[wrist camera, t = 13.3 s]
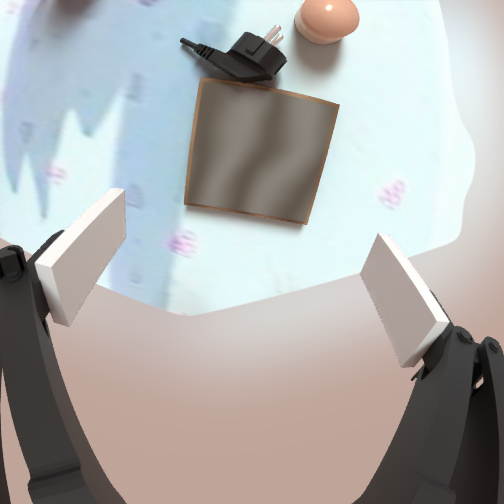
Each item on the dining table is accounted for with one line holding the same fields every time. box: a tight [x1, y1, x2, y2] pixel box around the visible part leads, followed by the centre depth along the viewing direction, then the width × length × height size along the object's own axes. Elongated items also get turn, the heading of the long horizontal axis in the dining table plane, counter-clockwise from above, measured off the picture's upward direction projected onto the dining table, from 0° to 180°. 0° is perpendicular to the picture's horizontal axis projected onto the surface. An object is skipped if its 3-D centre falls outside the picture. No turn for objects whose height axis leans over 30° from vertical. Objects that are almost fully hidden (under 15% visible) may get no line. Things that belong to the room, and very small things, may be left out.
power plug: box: [180, 25, 287, 84], centre depth 24 cm, size 6×8×12 cm
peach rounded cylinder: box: [295, 0, 359, 45], centre depth 22 cm, size 6×6×5 cm
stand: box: [184, 77, 340, 225], centre depth 32 cm, size 16×16×2 cm
